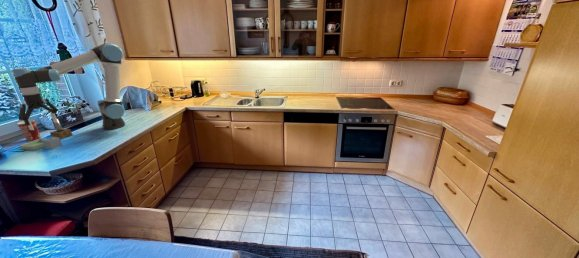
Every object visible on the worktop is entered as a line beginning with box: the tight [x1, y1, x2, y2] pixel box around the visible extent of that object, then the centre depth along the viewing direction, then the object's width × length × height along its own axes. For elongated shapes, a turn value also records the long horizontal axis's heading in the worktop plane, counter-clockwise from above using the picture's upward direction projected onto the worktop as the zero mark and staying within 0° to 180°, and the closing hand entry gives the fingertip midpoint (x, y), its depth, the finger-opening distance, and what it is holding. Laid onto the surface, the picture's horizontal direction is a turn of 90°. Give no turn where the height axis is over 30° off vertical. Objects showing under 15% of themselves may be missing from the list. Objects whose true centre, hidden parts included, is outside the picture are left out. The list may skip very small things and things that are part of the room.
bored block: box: [49, 128, 73, 141], centre depth 176 cm, size 8×8×5 cm
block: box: [42, 136, 63, 150], centre depth 160 cm, size 6×6×6 cm
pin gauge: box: [53, 118, 63, 132], centre depth 175 cm, size 3×3×14 cm
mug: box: [16, 119, 42, 142], centre depth 172 cm, size 13×9×14 cm
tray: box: [19, 137, 46, 152], centre depth 162 cm, size 12×12×3 cm
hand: (44, 126), depth 155 cm, fingers open, 13 cm apart
